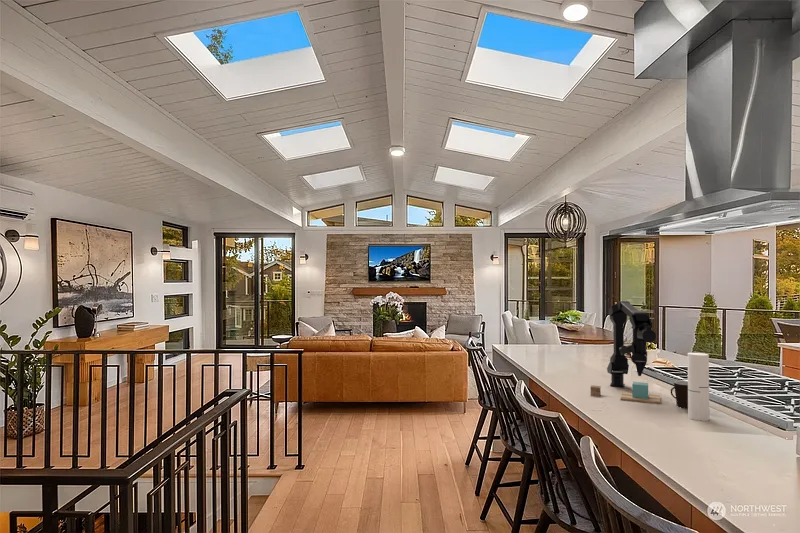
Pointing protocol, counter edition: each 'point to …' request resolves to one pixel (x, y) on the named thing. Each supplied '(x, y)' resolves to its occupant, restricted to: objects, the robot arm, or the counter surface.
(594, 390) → the walnut block
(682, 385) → the coffee mug
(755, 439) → the counter surface
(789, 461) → the counter surface
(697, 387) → the cylindrical container
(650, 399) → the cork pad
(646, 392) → the tilted teal cube
